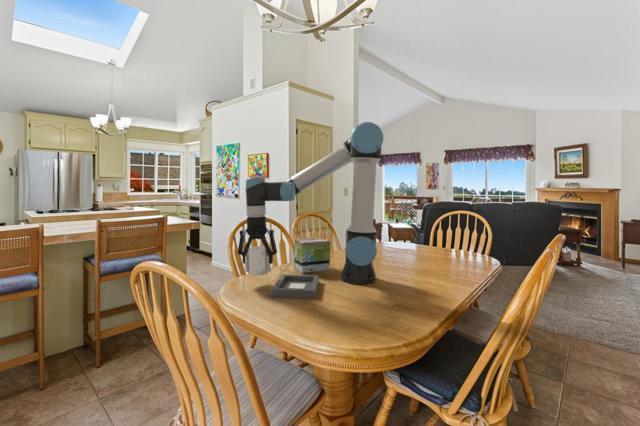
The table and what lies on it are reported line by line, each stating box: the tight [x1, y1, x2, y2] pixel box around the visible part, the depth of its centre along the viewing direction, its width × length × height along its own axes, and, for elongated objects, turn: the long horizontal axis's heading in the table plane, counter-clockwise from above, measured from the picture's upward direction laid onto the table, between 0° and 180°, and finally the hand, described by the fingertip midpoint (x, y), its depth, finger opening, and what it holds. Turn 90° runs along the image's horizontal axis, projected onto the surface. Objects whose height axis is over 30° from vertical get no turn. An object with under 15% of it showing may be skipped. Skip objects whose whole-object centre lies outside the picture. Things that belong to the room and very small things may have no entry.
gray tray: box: [271, 273, 320, 300], centre depth 129 cm, size 16×20×3 cm
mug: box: [247, 245, 269, 276], centre depth 132 cm, size 12×8×10 cm
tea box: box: [293, 237, 331, 274], centre depth 158 cm, size 15×10×15 cm, turn 117°
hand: (258, 271), depth 133 cm, fingers closed on mug, 8 cm apart
